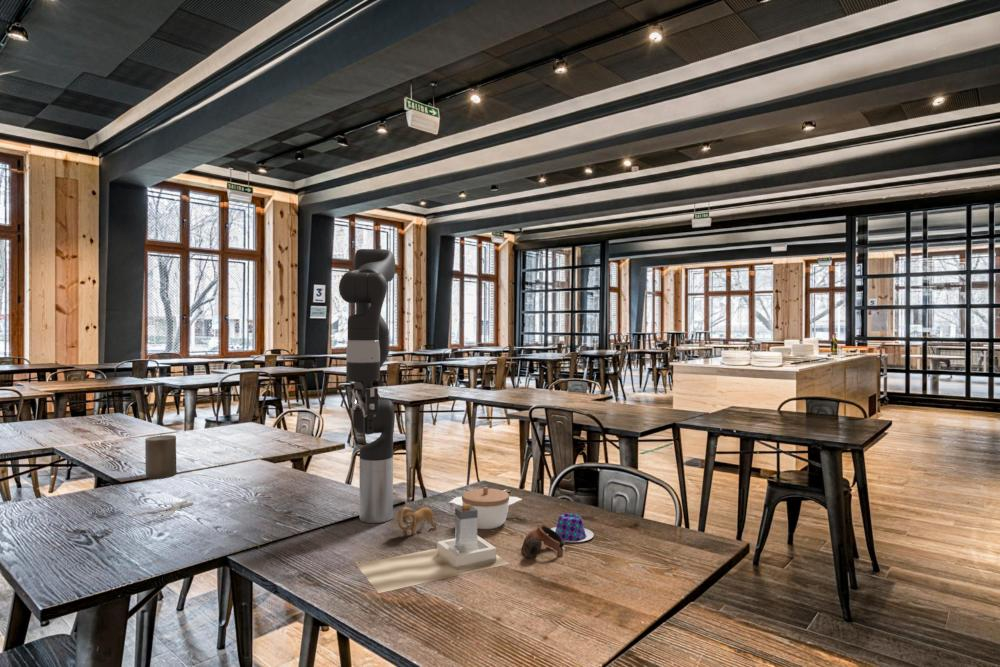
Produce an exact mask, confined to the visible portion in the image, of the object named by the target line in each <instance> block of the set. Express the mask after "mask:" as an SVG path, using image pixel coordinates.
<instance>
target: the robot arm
mask: <svg viewBox="0 0 1000 667" xmlns="http://www.w3.org/2000/svg"><path fill="white" fill-rule="evenodd" d="M353 261H354V263H353V266H354V267H353V270H349V271H347V272H345V273H344V274H343V275H342V277H341V278H340V280H339V283H338V293H339V295H340V297H341V299H342V300H343V301H345V302H346V303H349V304H355V314H351V315H349V317H348V318H347V344H346V352H345V353H346V354H345V355H346V361H345V362H346V366H345V367H346V370H345V371H346V375H345V376H346V380H347V381H348V382H350V383H349V406H348V407H349V408H350V409H351V412H352V427H353V428H354V429H355V431H356V433H357V434H361V435H362V434H363V435H364V434H365V435H372V434H380V435H379V437H378V438H376V439H375V440H373V441H371V442H368V443H366V444H364V445H362V446H361V447H360V448H359V506H358V508H359V511H358V512H359V515H358V516H359V520H360V522H362V523H367V524H378V523H384V522H388V521H390V520H392V519H393V517H394V431H395V430H394V428H395V427H394V426H395V406H394V403H393V401H392V400H390V399H379V397H378V396H379V395H378V394H379V393H378V392H379V389H378V387H374V386H373V382H378V381H380V379H381V368H382V366H383V364H384V363H385V362H386V360H387V358H388V356H389V353H390V329H389V327H388V325H387V323H386V321H385V319H384V317H383V316H382V315H381V312H382V308H383V304H384V302H385V298H386V296H387V295H386V294H387V293H388V292H387V290H388V283H389V282H392V281H393V279H394V277H395V273H396V259H395V255H394V253H393V251H391V250H390V249H389V250H388V249H382V248H380V249H379V248H378V249H377V248H376V249H375V248H374V249H372V248H371V249H370V248H359V249H357V250H356V252H355V254H354V259H353ZM351 382H352V383H351Z"/></svg>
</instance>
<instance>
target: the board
mask: <svg viewBox="0 0 1000 667" xmlns="http://www.w3.org/2000/svg"><path fill="white" fill-rule="evenodd" d="M507 565H510V563H509V562H508V561H506V559H504V558H502V557H501V556H499V555H498V554H496V562H492V563H487V564H483V565H478V566H473V567H469V568H464V569H460V570H455V569H454V568H452V567H451V566H450V565H449V564H448V563H447V562H445V561H444V560H443V559H442V558H441V557H440V556H438V555H437V548H432V549H427V550H421V551H418V552H417V551H416V552H412V553H408V554H406V553H405V554H402V555H396V556H391V557H386V558H382V559H376V560H372V561H366V562H362V563H361V562H360V563H356V564H355V566H356V567H357V568H358V570H359V571H360V572H361V573H362V575H363V576H364V578H366V580H367V581H368V583H369V584H370V585H371V586H372V587H373V589H374V590H375V591H376V593H377V594H382V593H386V592H390V591H396V590H400V589H403V588H408V587H409V588H410V587H413V586H417V585H422V584H426V583H430V582H431V583H432V582H434V581H440V580H444V579H448V578H453V577H457V576H461V575H466V574H471V573H475V572H480V571H485V570H489V569H493V568H497V567H501V566H507Z"/></svg>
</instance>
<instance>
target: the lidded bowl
mask: <svg viewBox="0 0 1000 667" xmlns="http://www.w3.org/2000/svg"><path fill="white" fill-rule="evenodd" d="M461 500H462V504H461V505H463V504H470V506H473V507H474V508H475V509H476V510H478V517H477V530H490V529H491V530H492V529H497V528H500V527H502V525H504V523H505V521H506V520H507V517H508V513H509V504H510V503H509V502H510V494H509V493H508V492H507V491H505V490H501V489H498V488H488V487H487V486H484V487H482V488H474V489H470V490H467V491H465V492H463V493H462V495H461Z"/></svg>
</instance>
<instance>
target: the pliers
mask: <svg viewBox="0 0 1000 667" xmlns="http://www.w3.org/2000/svg"><path fill="white" fill-rule="evenodd" d="M192 505H193V506H194V502H193V501H191V502H188V500H186V499H185V500H183V501H178V502H176V503H173V504H171V507H169V508H168V507H167V508H157V509H152V510H151V509H150V510H146V511H141V512H137V513H134V514H131V515H130V516H134V517H136V516H135V515H138V516H140V515H139V514H142V515H145V514H144V513H147V514H159V513H158V512H162V514H161V515H160V516H158V517H155V518H153V519H150V520H148V522H149V523H152V521H154V522H156V521H155V520H157V521H159V520H158V519H161V518H164V519H166V518H168V517H170V516H172V515H173V514H174V513H176V512H177V511H179V510H178V509H180V510H183V509H182V508H184V509H186V508H185V507H188V508H190V507H189V506H192ZM193 506H192V507H193ZM169 509H170V510H169ZM165 510H168V512H166V511H165ZM176 510H177V511H176ZM155 511H158V512H155ZM175 511H176V512H175ZM165 512H166V513H165ZM164 513H165V514H164ZM162 515H163V516H162ZM167 516H168V517H167ZM165 517H166V518H165ZM161 520H162V519H161Z"/></svg>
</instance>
